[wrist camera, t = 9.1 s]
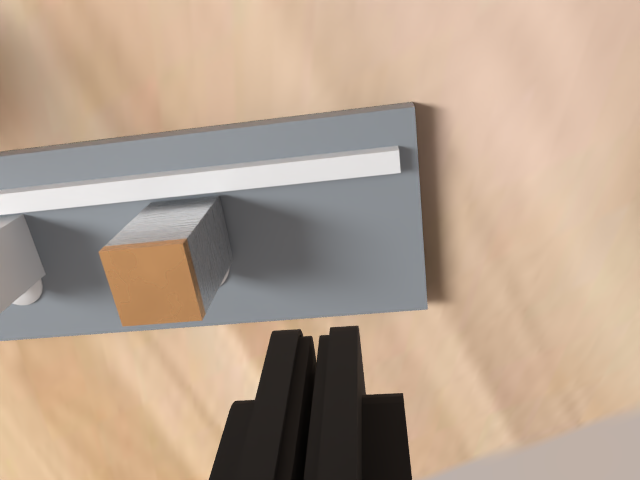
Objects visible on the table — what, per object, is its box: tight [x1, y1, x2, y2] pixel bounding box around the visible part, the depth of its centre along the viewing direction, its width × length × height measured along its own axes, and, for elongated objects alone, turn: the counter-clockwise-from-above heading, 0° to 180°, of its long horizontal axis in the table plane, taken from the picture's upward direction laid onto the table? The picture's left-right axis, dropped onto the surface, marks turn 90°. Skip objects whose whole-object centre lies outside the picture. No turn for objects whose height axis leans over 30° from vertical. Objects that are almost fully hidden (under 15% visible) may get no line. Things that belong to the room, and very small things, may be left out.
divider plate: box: [0, 102, 428, 341], centre depth 30 cm, size 12×30×8 cm, turn 98°
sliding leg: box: [99, 195, 233, 327], centre depth 28 cm, size 5×4×7 cm
